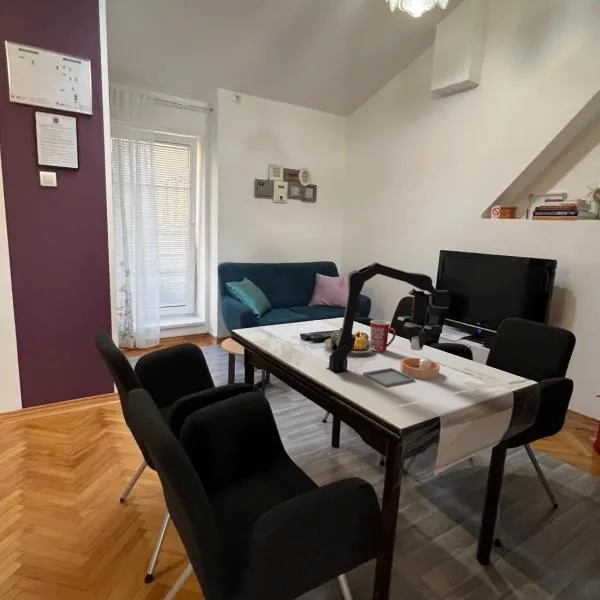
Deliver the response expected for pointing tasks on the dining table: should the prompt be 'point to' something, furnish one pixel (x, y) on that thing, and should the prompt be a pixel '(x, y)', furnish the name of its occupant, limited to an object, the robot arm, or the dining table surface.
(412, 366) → the bowl
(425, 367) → the pebble sand
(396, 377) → the parts tray
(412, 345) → the pebble grey
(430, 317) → the robot arm
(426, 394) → the dining table surface
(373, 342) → the mug
